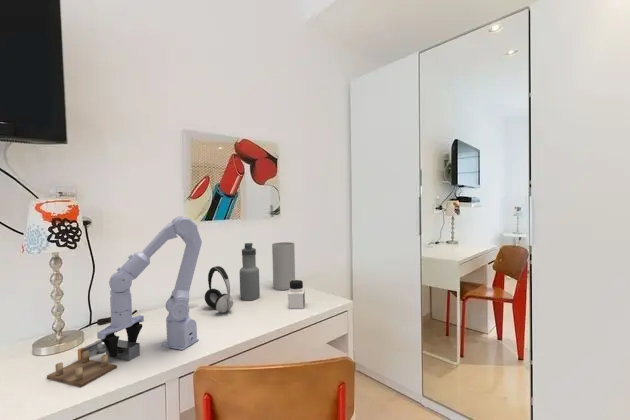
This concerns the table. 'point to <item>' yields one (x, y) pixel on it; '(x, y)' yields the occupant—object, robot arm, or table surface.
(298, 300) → the medicine bottle
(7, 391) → the table surface
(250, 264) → the water bottle
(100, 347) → the silver lever knob
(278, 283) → the cylinder vase
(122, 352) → the steel bar
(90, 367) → the walnut board
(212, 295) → the headphones
